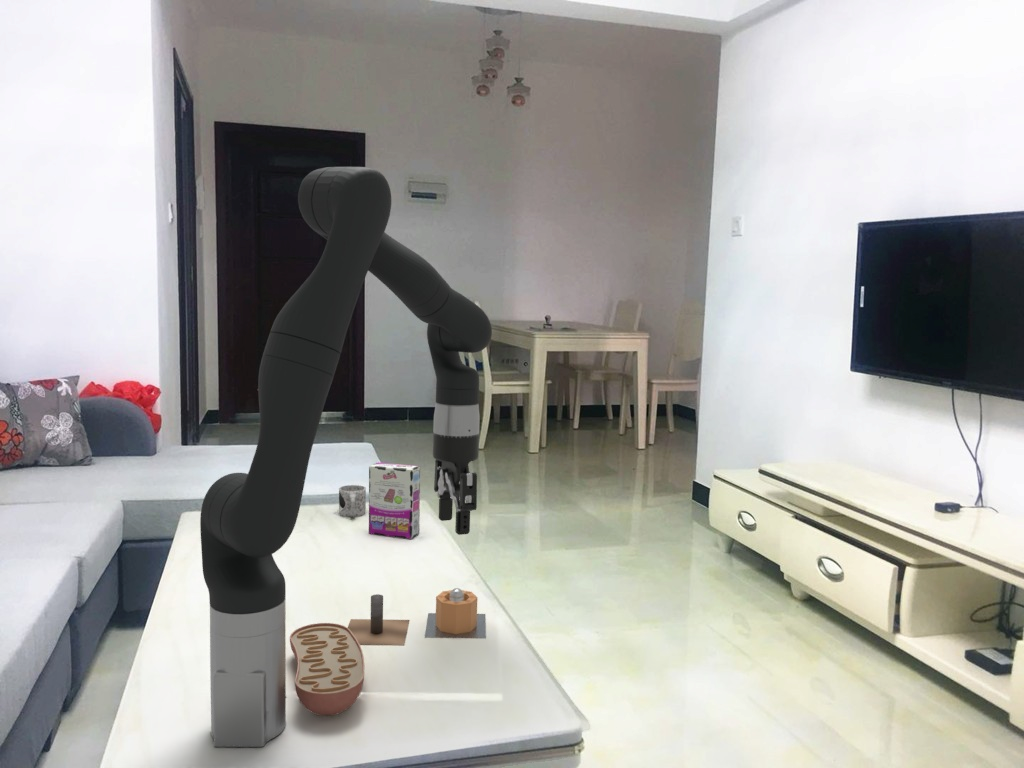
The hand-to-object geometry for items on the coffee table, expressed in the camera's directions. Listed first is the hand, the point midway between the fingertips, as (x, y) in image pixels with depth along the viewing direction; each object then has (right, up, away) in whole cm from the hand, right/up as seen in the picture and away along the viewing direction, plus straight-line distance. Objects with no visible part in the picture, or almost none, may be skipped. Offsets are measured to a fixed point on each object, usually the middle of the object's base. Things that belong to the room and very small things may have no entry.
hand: (453, 526), depth 135 cm
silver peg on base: (0, -18, +2) cm, 18 cm away
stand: (-13, -18, -1) cm, 22 cm away
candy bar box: (-18, -12, +55) cm, 59 cm away
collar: (0, -17, +2) cm, 17 cm away
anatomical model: (-17, -20, -18) cm, 32 cm away
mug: (-31, -10, +70) cm, 77 cm away
